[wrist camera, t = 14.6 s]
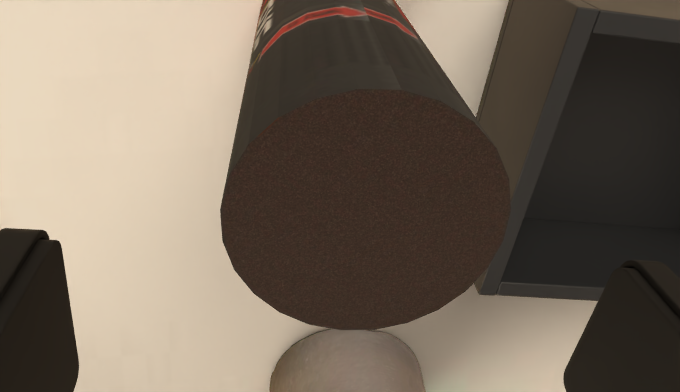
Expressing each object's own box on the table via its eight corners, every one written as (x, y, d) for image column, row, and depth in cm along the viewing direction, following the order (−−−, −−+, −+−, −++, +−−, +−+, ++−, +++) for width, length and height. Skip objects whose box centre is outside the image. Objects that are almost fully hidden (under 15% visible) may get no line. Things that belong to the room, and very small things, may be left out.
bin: (447, 219, 30) (478, 295, 25) (516, -27, 23) (578, 6, 18) (692, 237, 32) (768, 310, 27) (819, 14, 25) (951, 55, 20)
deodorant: (266, -58, 22) (232, 63, 9) (410, -31, 23) (555, 113, 10) (251, 83, 25) (210, 320, 12) (379, 101, 26) (462, 339, 13)
